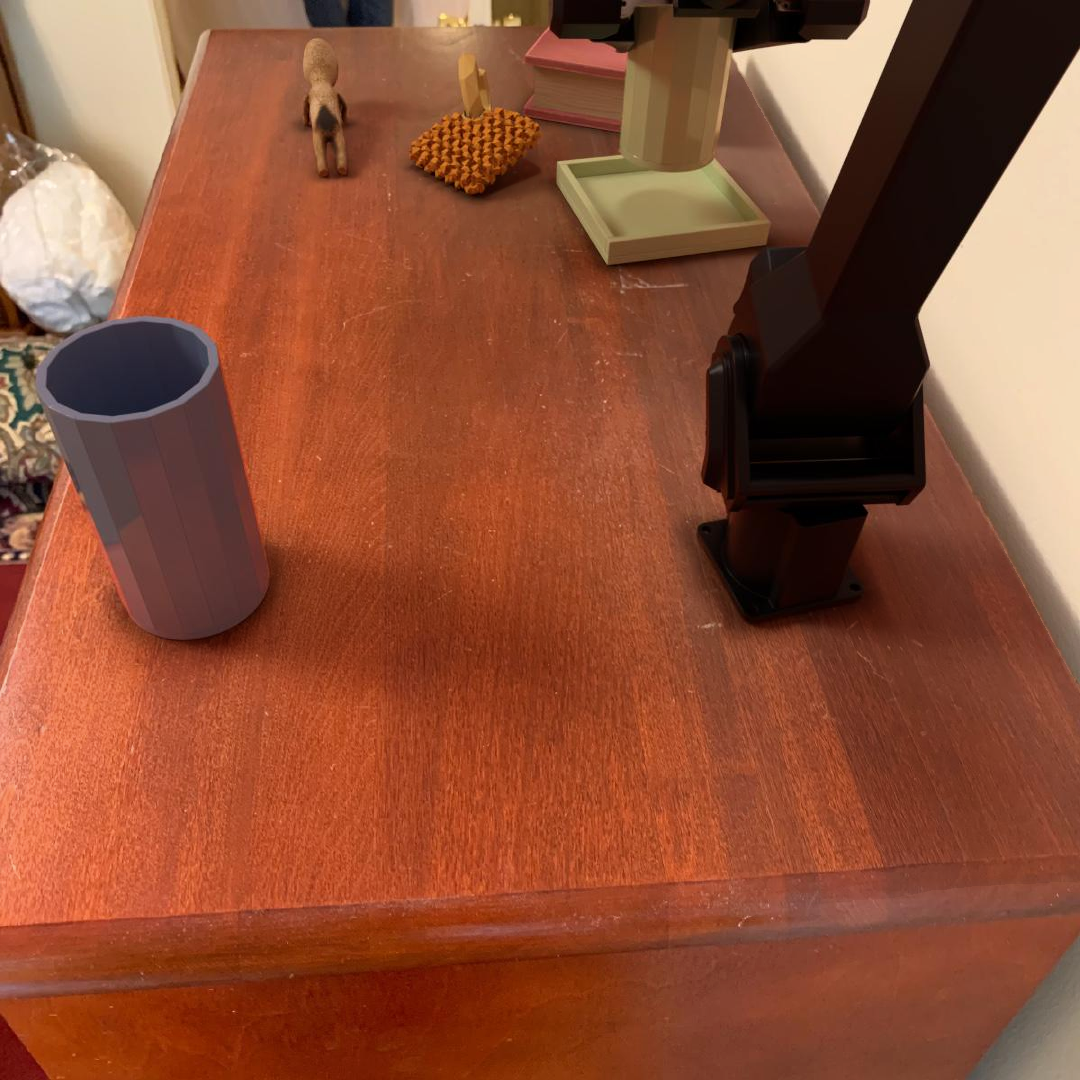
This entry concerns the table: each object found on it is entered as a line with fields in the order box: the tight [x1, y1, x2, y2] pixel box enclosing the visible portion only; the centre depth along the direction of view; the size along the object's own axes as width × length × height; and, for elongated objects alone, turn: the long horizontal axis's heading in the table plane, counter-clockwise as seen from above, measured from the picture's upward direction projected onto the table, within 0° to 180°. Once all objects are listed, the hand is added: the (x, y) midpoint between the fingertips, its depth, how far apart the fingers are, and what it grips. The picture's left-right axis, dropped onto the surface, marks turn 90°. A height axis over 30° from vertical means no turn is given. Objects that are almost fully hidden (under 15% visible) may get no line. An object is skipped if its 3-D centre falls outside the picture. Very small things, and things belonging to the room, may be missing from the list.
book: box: [522, 26, 627, 133], centre depth 88 cm, size 14×15×5 cm
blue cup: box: [34, 315, 271, 641], centre depth 44 cm, size 7×7×13 cm
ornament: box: [408, 52, 543, 195], centre depth 79 cm, size 7×10×15 cm
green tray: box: [555, 154, 772, 266], centre depth 75 cm, size 12×12×2 cm
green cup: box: [618, 7, 738, 173], centre depth 67 cm, size 7×7×13 cm
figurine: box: [301, 37, 349, 178], centre depth 81 cm, size 4×4×15 cm
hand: (675, 45), depth 67 cm, fingers closed on green cup, 7 cm apart
